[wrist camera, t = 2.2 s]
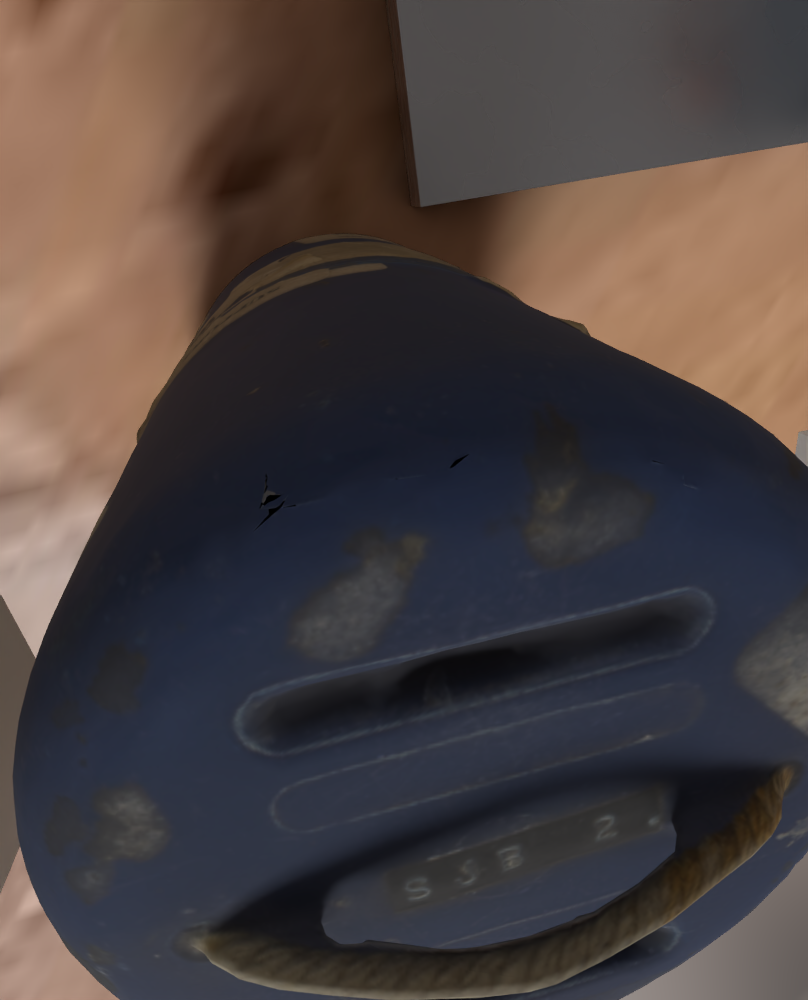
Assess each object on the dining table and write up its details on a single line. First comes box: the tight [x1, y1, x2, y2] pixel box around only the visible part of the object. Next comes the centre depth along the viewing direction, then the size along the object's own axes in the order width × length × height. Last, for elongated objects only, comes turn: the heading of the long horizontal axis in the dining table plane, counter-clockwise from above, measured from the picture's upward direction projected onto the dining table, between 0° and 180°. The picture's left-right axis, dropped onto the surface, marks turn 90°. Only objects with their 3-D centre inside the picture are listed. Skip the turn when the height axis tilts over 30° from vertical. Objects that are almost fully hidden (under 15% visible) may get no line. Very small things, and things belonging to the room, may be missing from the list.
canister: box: [13, 234, 808, 1000], centre depth 13 cm, size 10×10×18 cm
